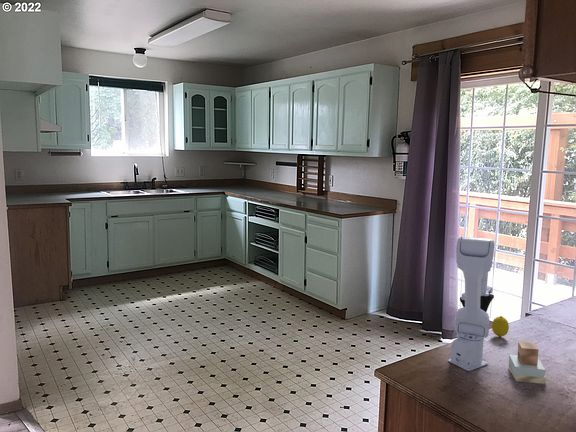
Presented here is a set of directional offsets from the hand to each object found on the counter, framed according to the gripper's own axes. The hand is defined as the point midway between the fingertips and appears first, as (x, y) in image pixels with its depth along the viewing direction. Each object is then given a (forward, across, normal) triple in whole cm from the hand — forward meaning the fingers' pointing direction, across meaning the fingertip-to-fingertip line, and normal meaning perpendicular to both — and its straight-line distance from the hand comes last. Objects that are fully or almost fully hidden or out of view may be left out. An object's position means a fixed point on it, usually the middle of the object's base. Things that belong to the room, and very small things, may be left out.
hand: (475, 316), depth 160 cm
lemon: (+11, +13, -1) cm, 17 cm away
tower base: (+11, -6, -22) cm, 25 cm away
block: (+6, -6, -22) cm, 23 cm away
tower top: (+8, -6, -22) cm, 24 cm away
